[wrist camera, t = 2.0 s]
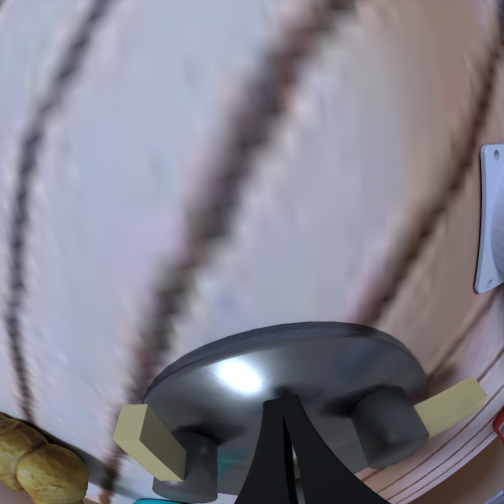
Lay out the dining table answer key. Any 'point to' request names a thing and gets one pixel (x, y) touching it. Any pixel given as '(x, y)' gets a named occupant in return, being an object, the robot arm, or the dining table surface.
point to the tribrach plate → (281, 387)
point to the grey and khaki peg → (169, 456)
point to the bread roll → (40, 466)
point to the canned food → (499, 425)
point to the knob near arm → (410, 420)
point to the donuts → (154, 502)
